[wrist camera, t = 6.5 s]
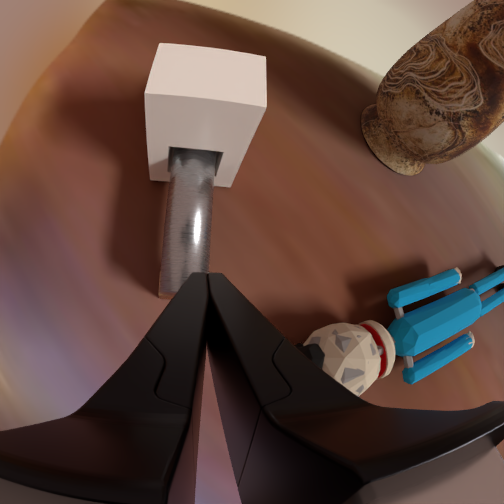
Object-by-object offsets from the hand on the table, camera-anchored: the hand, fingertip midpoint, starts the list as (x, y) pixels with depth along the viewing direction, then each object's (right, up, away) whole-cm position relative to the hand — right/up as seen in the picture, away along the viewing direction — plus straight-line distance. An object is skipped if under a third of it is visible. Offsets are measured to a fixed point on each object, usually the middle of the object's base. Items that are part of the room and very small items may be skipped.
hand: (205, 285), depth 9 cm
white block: (-3, +8, +15) cm, 17 cm away
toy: (+17, -5, +17) cm, 25 cm away
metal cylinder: (-3, +6, +14) cm, 16 cm away
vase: (+17, +13, +22) cm, 30 cm away
